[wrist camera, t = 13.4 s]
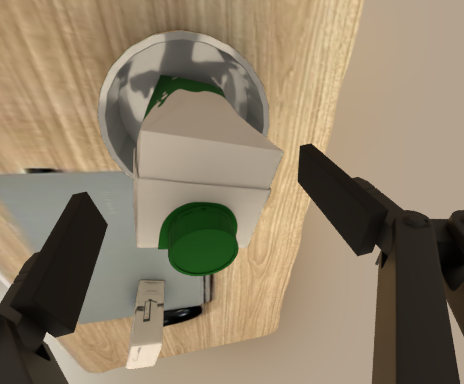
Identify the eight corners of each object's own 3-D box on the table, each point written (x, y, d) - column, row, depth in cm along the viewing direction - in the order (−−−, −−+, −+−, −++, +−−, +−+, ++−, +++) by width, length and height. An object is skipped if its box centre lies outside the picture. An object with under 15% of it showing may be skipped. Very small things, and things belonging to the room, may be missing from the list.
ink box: (158, 304, 50) (155, 367, 41) (133, 304, 48) (124, 371, 39) (165, 279, 46) (164, 344, 36) (138, 279, 44) (130, 347, 35)
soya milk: (148, 142, 29) (120, 283, 13) (152, 61, 24) (115, 128, 8) (216, 151, 32) (262, 277, 16) (231, 80, 27) (319, 158, 11)
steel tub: (85, 43, 23) (57, 49, 17) (244, 19, 24) (266, 16, 19) (143, 179, 32) (137, 211, 27) (254, 155, 34) (270, 180, 28)
